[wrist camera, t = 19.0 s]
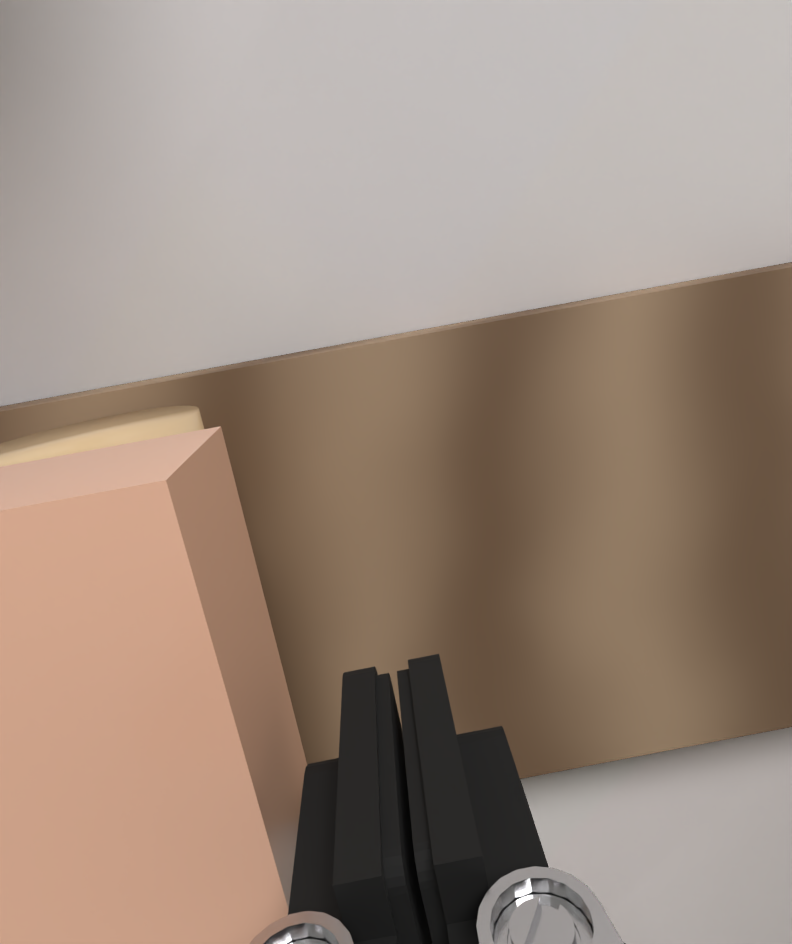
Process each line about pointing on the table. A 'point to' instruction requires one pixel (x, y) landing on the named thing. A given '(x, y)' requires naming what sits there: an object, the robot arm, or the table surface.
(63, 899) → the pink toy brick
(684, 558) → the track
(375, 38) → the table surface
